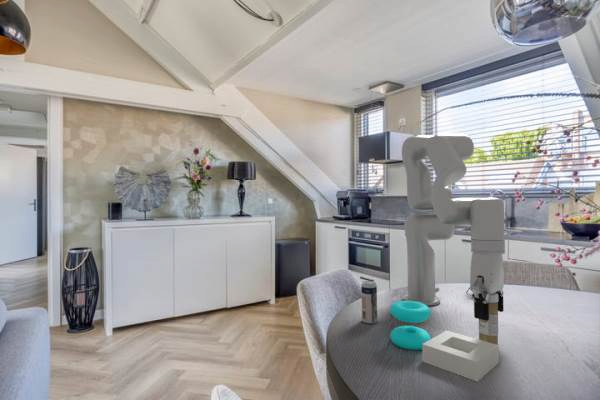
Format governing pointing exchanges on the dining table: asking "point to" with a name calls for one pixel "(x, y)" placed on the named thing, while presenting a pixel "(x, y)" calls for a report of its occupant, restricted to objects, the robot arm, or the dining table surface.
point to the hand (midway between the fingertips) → (489, 314)
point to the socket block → (461, 354)
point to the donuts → (409, 334)
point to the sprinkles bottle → (490, 321)
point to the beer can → (369, 302)
